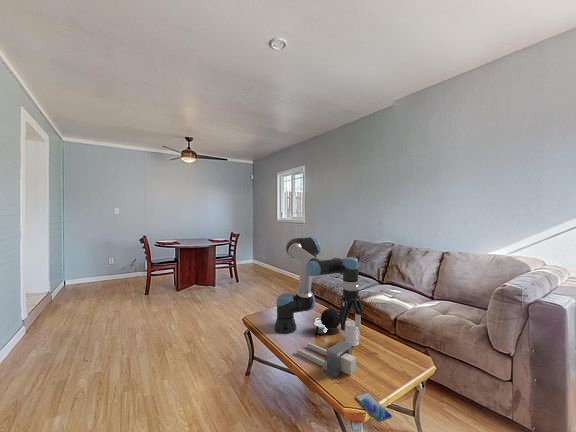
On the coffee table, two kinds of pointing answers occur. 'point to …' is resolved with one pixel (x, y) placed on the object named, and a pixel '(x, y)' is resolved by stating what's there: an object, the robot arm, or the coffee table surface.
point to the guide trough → (312, 357)
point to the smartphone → (373, 407)
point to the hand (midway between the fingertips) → (351, 331)
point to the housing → (336, 358)
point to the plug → (347, 363)
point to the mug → (352, 333)
